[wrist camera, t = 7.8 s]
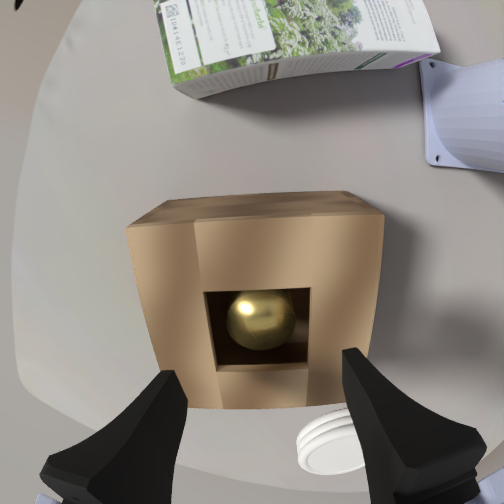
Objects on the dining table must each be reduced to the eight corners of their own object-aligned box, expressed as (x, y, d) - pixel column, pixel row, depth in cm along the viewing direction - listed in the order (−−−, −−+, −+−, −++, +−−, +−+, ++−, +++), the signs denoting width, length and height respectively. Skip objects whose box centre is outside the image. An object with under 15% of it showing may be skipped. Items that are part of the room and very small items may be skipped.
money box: (346, 190, 19) (384, 214, 13) (337, 340, 23) (357, 400, 17) (166, 200, 20) (125, 227, 13) (191, 346, 24) (172, 406, 17)
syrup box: (193, 102, 17) (402, 70, 16) (167, 88, 12) (447, 54, 11) (176, 29, 15) (380, 1, 14) (148, -5, 10) (414, -31, 8)
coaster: (335, 460, 31) (339, 481, 27) (277, 440, 29) (278, 465, 25) (398, 420, 28) (406, 442, 24) (345, 393, 26) (353, 419, 22)
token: (297, 271, 21) (308, 308, 16) (272, 314, 22) (275, 358, 17) (246, 248, 20) (243, 281, 15) (224, 294, 21) (215, 335, 17)
